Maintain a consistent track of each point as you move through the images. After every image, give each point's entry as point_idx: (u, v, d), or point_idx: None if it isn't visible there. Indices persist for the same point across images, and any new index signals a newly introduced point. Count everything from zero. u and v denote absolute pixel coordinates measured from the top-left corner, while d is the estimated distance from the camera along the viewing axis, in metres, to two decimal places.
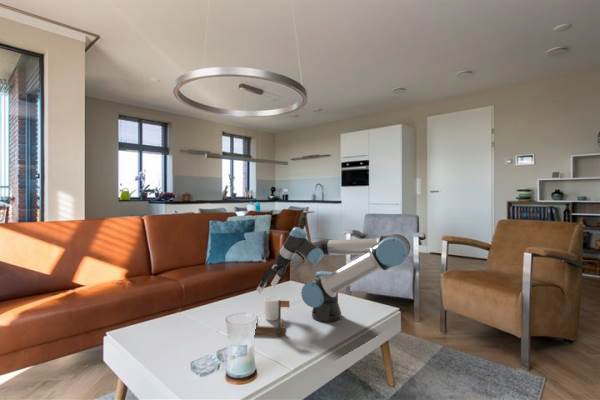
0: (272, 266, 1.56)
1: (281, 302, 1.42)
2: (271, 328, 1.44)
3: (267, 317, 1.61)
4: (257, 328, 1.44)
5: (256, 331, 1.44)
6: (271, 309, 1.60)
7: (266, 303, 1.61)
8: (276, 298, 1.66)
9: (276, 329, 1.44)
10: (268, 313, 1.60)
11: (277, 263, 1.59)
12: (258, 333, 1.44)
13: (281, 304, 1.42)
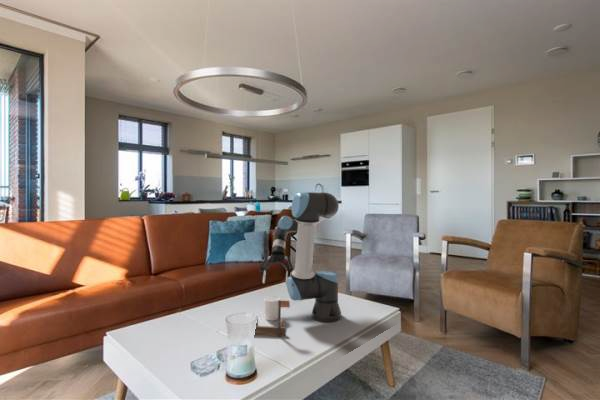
0: None
1: (281, 302, 1.42)
2: (271, 328, 1.44)
3: (267, 317, 1.61)
4: (257, 328, 1.44)
5: (256, 331, 1.44)
6: (271, 309, 1.60)
7: (266, 303, 1.61)
8: (276, 298, 1.66)
9: (276, 329, 1.44)
10: (268, 313, 1.60)
11: None
12: (258, 333, 1.44)
13: (281, 304, 1.42)
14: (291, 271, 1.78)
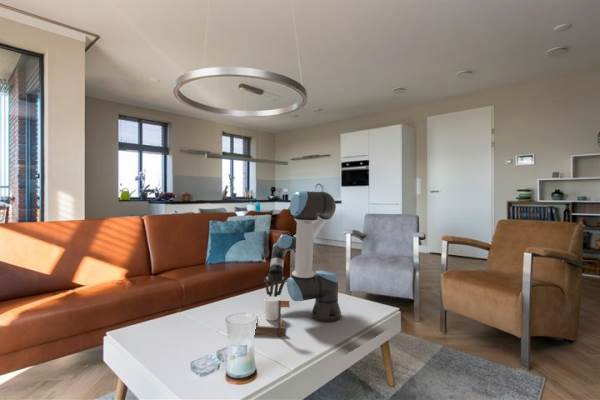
0: (264, 280, 1.80)
1: (281, 302, 1.42)
2: (271, 328, 1.44)
3: (267, 317, 1.61)
4: (257, 328, 1.44)
5: (256, 331, 1.44)
6: (271, 309, 1.60)
7: (266, 303, 1.61)
8: (276, 298, 1.66)
9: (276, 329, 1.44)
10: (268, 313, 1.60)
11: None
12: (258, 333, 1.44)
13: (281, 304, 1.42)
14: (278, 294, 1.73)
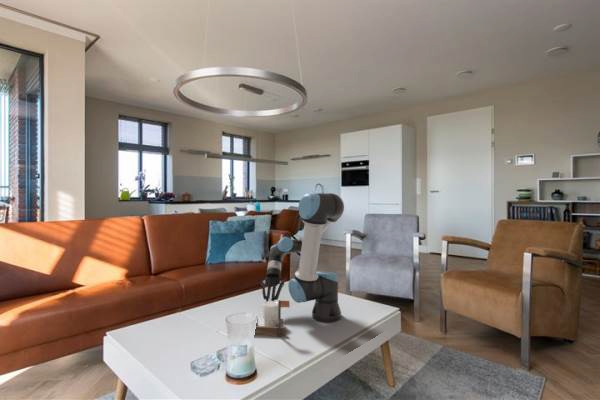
0: (261, 284, 1.72)
1: (281, 302, 1.42)
2: (271, 328, 1.44)
3: (269, 323, 1.53)
4: (257, 328, 1.44)
5: (256, 331, 1.44)
6: (274, 315, 1.53)
7: (268, 309, 1.52)
8: (273, 302, 1.60)
9: (276, 329, 1.44)
10: (270, 319, 1.53)
11: None
12: (258, 333, 1.44)
13: (281, 304, 1.42)
14: (275, 299, 1.65)
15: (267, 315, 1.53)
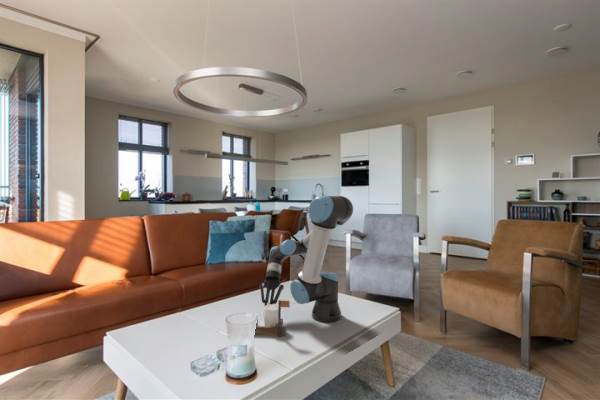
0: (260, 287, 1.66)
1: (281, 302, 1.42)
2: (271, 328, 1.44)
3: None
4: (257, 328, 1.44)
5: (256, 331, 1.44)
6: None
7: (274, 313, 1.47)
8: (270, 306, 1.54)
9: (276, 329, 1.44)
10: (275, 323, 1.48)
11: None
12: (258, 333, 1.44)
13: (281, 304, 1.42)
14: (274, 303, 1.59)
15: (272, 319, 1.47)
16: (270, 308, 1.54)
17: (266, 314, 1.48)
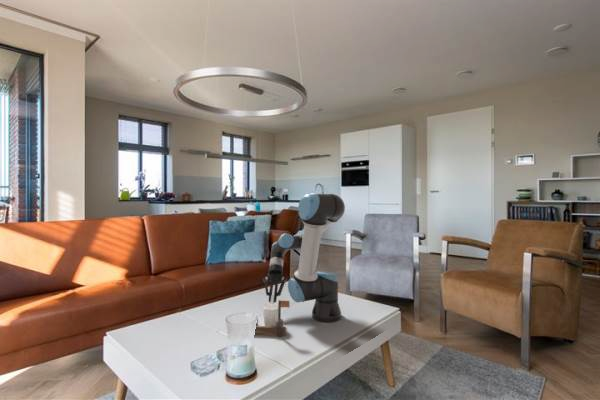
0: (263, 280, 1.73)
1: (281, 302, 1.42)
2: (271, 328, 1.44)
3: None
4: (257, 328, 1.44)
5: (256, 331, 1.44)
6: (276, 318, 1.49)
7: (270, 312, 1.48)
8: (272, 305, 1.56)
9: (276, 329, 1.44)
10: (272, 322, 1.49)
11: None
12: (258, 333, 1.44)
13: (281, 304, 1.42)
14: (278, 295, 1.66)
15: (269, 318, 1.49)
16: (272, 307, 1.56)
17: (264, 313, 1.50)
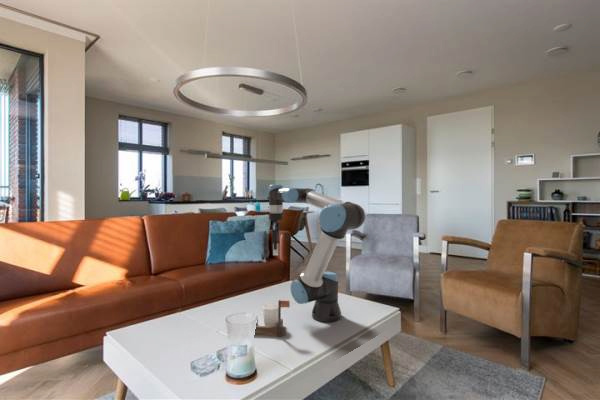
0: (273, 228, 1.72)
1: (281, 302, 1.42)
2: (271, 328, 1.44)
3: None
4: (257, 328, 1.44)
5: (256, 331, 1.44)
6: (276, 317, 1.49)
7: (270, 312, 1.48)
8: (271, 305, 1.56)
9: (276, 329, 1.44)
10: (272, 322, 1.49)
11: (274, 221, 1.74)
12: (258, 333, 1.44)
13: (281, 304, 1.42)
14: None
15: (269, 318, 1.49)
16: (272, 307, 1.56)
17: (264, 313, 1.50)
